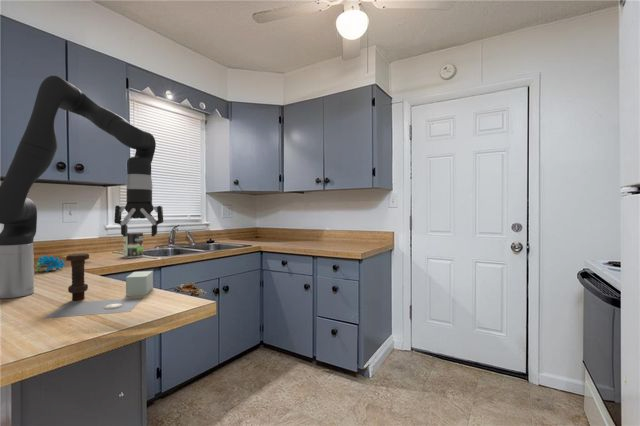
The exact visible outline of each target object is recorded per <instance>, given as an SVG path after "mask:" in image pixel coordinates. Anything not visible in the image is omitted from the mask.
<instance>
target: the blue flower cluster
mask: <svg viewBox="0 0 640 426" xmlns="http://www.w3.org/2000/svg"><path fill="white" fill-rule="evenodd" d="M65 265H66V263H65V262H64V260H63V259H60V257H57V256H56V257H54V255H49V257H48V256H47V255H45V254H44V255H43V256H40V257H39V258H38V260H37V262H36V267H37V270H36V273H38V272H39V271H40V270H41V269H46V270H45V272H46V273H48V272H50V270H54V268H55V269H56V270H60V268H61V269H63V268H64V266H65Z"/></svg>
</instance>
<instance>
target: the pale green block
mask: <svg viewBox="0 0 640 426" xmlns="http://www.w3.org/2000/svg"><path fill="white" fill-rule="evenodd" d="M153 289H154V271H153V270H150V271H149V270H148V271H147V270H146V271H133V272H132V273H130V274H129V275H128V276H126V277H125V296H126V297H130V296H131V297H133V296H146V295H148V294H149V293H150V292H151V290H153Z"/></svg>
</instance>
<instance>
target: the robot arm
mask: <svg viewBox="0 0 640 426" xmlns="http://www.w3.org/2000/svg"><path fill="white" fill-rule="evenodd" d="M59 109H61V110H64V111H67V112H70V113H73V114H76V115H78V116H81V117H84V118H85V119H87V120H89V121H90V122H91V123H92V124H93V125H95V126H96V127H97V128H99V129H100V130H102V131H104V132H105V133H107V134H108V135H111V136H112V137H114V138H115V139H116V140H117V141H118V142H120V143H121V144H122V145H124V146H125V147H128V148H130V149H133V150H135V153H134V156H131V157H128V159H127V163H126V164H127V166H126V169H127V170H126V171H127V172H126V174H127V176H126V205H116V206H115V207H114V220H113V221H114V224H118V225H120V234H121V235H122V236H123V238H124V237H127V233H128V225H127V224H129V222H130V221H131V220H132V219H147V221H149V223H150V224H152V225H151V237H155V236H156V235H158V225H160V224H162V223H164V211H163V209H164V208H163V206H162V205H158V206H157V205H156V206H154V205H153V178H152V162H153V159H154V156H155V151H156V147H157V144H156V138H155V137H154V135H153V133H151V132H149V131H147V130H143V129H141V128H139V127H137V126H136V125H135V126H134V125H132V124H131V123H130V122H129V121H128V120H127V119H125V118H124V117H122V116H120V115H119V114H117V113H115V112H114V111H112V110H110V109H108V108H106V107H103V106H101V105H99V104H98V103H96V102H94V101H93V100H92V99H91V98H90V97H89V96H88V95H86V94H85V93H84V92H83V91H82V90H80V88H78V87H77V86H75V85H74V84H72V83H71V82H69V81H67V80H65V79H64V78H62V77H60V76H58V75H49V76H47V77H46V78H45V79H44V80H42V82H41V83H40V86H39V88H38V91H37V95H36V98H35V102H34V105H33V108H32V113H31V115H30V118H29V120H28V123H27V125H26V128H25V130H24V132H23V135H22V137H21V138H20V141H19V144H18V146H17V148H16V151H15V154H14V156H13V158H12V160H11V163H10V165H9V167H8V169H7V172H6V174H5V177H4V179H3V180H2V182H1V183H0V225H3V228H2V231H1V232H0V299H13V298H20V297H25V296H29V295H32V294H34V293H35V283H34V282H35V269H34V268H35V264H34V259H35V258H34V257H35V256H34V238H35V237H36V234H37V227H38V225H37V224H38V223H37V222H38V211H37V210H38V209H37V206H36V204H35V202H34V201H33V200H32V199H31V198H28V193H29V192H30V189H31V188H32V186H33V185H34V183H35V182H36V181H37V180H38V179H39V178H40V177H41V176H42V175H43V174H44V173H45V172H46V171H47V170H48V169H49V167H50V165H52V162H53V160H54V158H55V155H56V153H57V150H58V136H57V132H56V127H55V126H56V125H55V124H56V123H55V122H56V116H57V114H58V112H59V111H58V110H59ZM124 211H125V212H127V214H126V215H125V217H124V218H123V219H122V213H123V212H124ZM153 211H155V212H156V214H157V220H156V219H155V217H154V216H153V215H152V212H153ZM155 212H154V213H155Z"/></svg>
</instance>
